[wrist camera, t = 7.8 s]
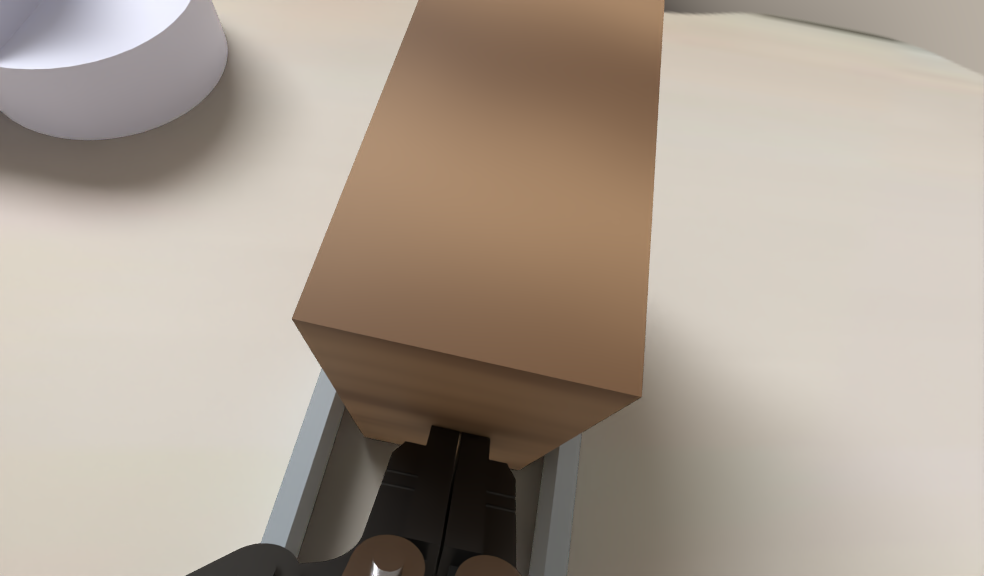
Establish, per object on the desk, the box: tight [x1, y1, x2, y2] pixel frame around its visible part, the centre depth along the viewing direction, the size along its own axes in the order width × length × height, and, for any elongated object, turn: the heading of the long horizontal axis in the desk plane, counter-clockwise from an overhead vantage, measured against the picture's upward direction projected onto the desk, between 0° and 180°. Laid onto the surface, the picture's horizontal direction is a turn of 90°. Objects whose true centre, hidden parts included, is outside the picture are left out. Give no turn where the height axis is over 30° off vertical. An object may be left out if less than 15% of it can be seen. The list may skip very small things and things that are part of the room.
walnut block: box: [292, 0, 664, 470], centre depth 14 cm, size 9×5×10 cm, turn 169°
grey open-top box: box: [261, 369, 582, 576], centre depth 14 cm, size 12×8×2 cm, turn 169°
